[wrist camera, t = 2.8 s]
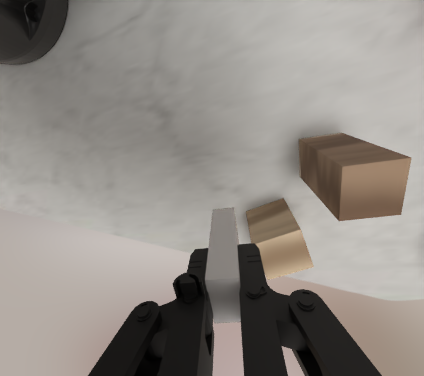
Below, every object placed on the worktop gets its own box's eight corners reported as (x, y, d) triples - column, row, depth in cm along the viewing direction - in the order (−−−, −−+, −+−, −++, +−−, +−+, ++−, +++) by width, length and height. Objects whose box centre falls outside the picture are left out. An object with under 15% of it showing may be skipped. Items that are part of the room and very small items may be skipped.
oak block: (245, 211, 29) (251, 245, 23) (283, 198, 28) (300, 229, 22) (258, 240, 31) (267, 280, 25) (294, 229, 30) (313, 266, 24)
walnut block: (299, 138, 25) (342, 166, 16) (341, 132, 25) (411, 157, 15) (299, 176, 27) (338, 221, 18) (338, 171, 27) (401, 214, 17)
